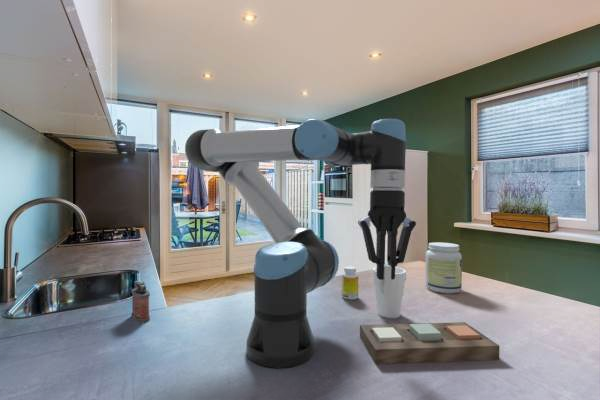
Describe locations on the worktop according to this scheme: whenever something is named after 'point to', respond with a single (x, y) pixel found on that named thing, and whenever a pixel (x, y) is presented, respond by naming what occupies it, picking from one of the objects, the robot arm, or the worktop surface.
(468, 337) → the terracotta tile
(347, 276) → the supplement bottle
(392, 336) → the cream tile
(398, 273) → the foam cup
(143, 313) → the lighter
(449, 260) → the supplement tub
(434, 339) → the sage tile
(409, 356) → the walnut board
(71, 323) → the worktop surface
